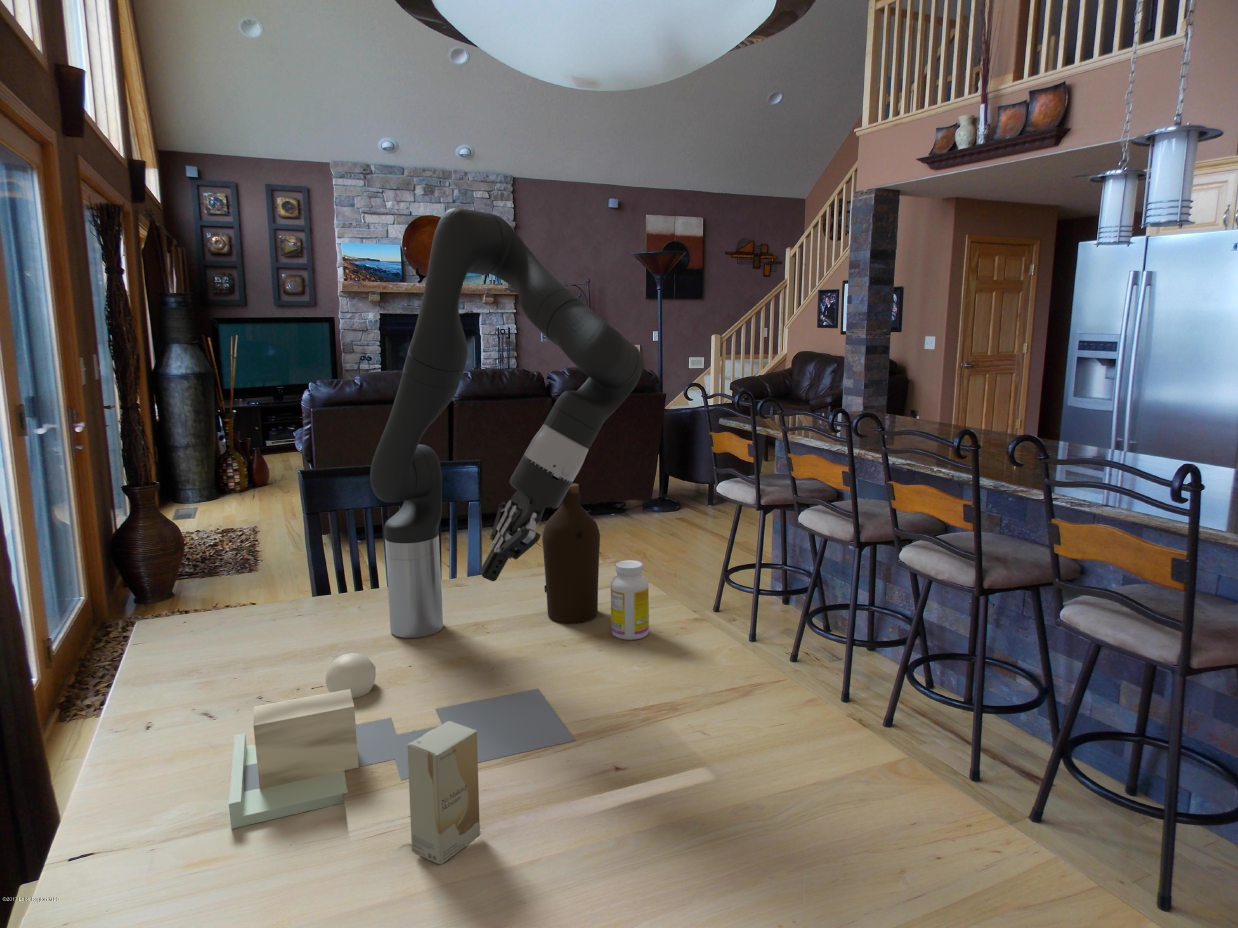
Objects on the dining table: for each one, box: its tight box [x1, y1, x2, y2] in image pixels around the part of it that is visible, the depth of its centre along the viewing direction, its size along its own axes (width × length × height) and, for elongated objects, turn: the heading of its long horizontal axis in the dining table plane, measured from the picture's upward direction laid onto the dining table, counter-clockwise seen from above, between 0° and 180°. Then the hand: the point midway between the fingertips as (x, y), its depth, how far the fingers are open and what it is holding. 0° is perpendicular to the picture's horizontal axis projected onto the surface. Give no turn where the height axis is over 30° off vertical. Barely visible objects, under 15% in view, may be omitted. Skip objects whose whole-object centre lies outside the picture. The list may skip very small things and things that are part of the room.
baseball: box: [325, 652, 377, 699], centre depth 116 cm, size 7×7×7 cm
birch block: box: [252, 689, 360, 789], centre depth 96 cm, size 5×11×8 cm, turn 114°
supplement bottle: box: [610, 559, 650, 641], centre depth 139 cm, size 7×7×13 cm
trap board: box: [228, 688, 577, 830], centre depth 101 cm, size 16×40×3 cm, turn 113°
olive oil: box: [541, 482, 601, 624], centre depth 147 cm, size 11×11×25 cm
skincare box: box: [408, 721, 481, 865], centre depth 83 cm, size 6×4×12 cm
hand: (486, 577), depth 107 cm, fingers closed
